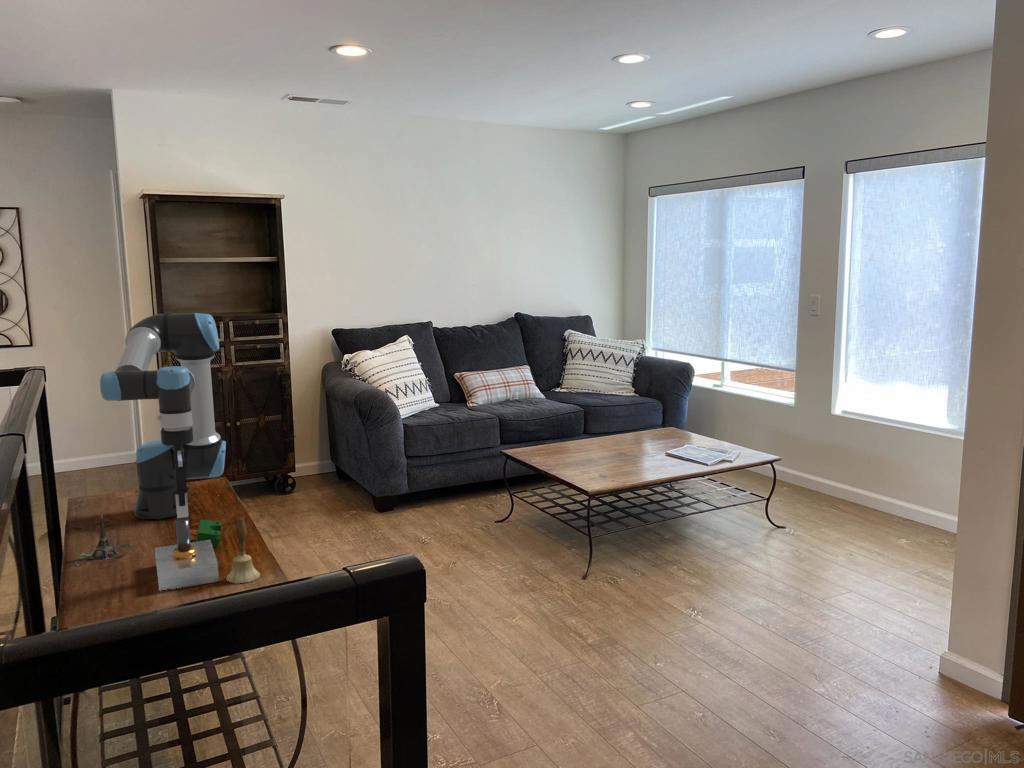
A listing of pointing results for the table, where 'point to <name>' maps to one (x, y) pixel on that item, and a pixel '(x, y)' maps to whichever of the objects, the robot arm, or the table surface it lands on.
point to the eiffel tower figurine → (101, 547)
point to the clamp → (209, 531)
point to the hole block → (186, 566)
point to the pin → (183, 541)
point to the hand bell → (242, 559)
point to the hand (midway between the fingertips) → (182, 516)
